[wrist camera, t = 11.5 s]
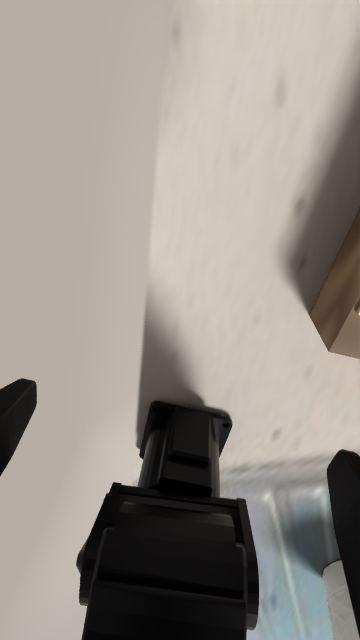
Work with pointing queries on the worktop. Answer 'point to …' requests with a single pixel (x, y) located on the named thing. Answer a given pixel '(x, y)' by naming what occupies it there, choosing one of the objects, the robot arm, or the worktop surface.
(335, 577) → the white cup
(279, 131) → the worktop surface
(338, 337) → the socket block
